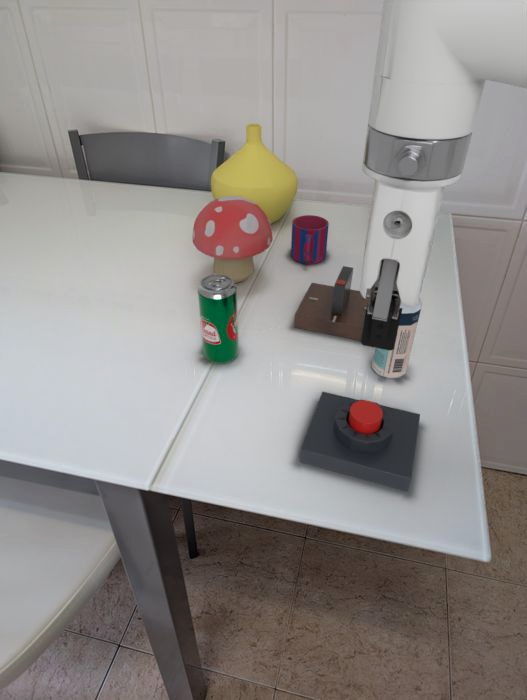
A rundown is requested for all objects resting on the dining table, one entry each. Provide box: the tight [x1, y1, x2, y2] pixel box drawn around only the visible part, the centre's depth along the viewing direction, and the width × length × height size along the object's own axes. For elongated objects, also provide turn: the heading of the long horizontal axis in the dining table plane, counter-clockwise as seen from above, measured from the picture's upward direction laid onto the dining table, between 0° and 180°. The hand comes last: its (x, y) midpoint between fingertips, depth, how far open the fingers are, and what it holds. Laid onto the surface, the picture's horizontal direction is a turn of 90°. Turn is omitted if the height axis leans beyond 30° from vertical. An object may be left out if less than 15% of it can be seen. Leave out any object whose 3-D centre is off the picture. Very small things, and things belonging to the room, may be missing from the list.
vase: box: [210, 123, 299, 225], centre depth 103 cm, size 18×18×19 cm
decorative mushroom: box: [192, 196, 274, 284], centre depth 83 cm, size 13×13×15 cm
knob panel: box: [293, 282, 370, 342], centre depth 78 cm, size 12×10×3 cm
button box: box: [299, 391, 421, 492], centre depth 57 cm, size 12×10×4 cm
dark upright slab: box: [331, 265, 354, 315], centre depth 76 cm, size 6×2×5 cm, turn 161°
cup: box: [290, 214, 330, 265], centre depth 92 cm, size 7×10×7 cm
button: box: [348, 399, 383, 434], centre depth 55 cm, size 4×4×2 cm
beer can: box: [371, 297, 423, 379], centre depth 65 cm, size 5×5×12 cm
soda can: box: [197, 273, 240, 365], centre depth 68 cm, size 5×5×12 cm
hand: (377, 342), depth 49 cm, fingers closed
